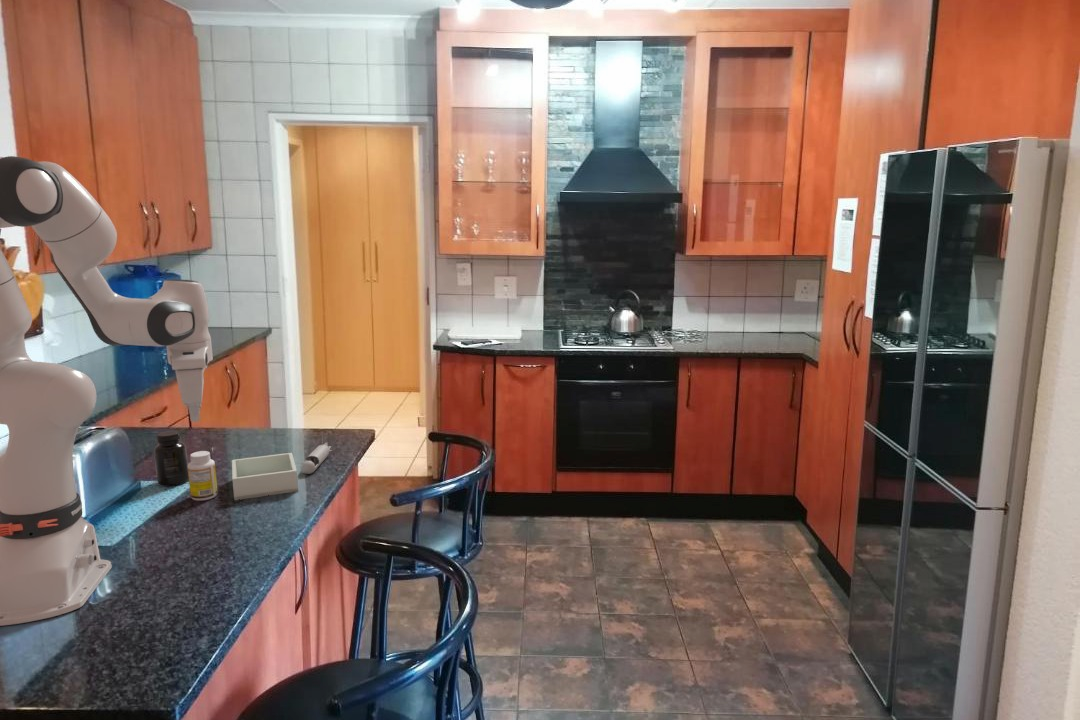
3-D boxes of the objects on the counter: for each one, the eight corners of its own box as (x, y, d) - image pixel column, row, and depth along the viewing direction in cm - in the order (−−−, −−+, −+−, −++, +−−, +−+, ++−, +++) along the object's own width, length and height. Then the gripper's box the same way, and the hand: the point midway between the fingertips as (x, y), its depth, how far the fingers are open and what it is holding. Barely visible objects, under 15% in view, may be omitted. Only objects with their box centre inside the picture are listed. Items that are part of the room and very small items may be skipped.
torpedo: (316, 476, 178) (314, 450, 177) (297, 476, 178) (295, 450, 177) (336, 452, 196) (335, 428, 195) (318, 452, 196) (317, 428, 195)
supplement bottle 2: (204, 490, 169) (199, 448, 167) (223, 494, 167) (219, 451, 165) (185, 499, 164) (180, 456, 162) (204, 503, 162) (200, 459, 160)
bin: (298, 491, 168) (296, 470, 167) (234, 500, 163) (232, 479, 162) (293, 472, 181) (292, 452, 180) (233, 479, 176) (231, 459, 175)
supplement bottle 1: (195, 477, 177) (190, 429, 175) (179, 487, 171) (173, 438, 168) (168, 476, 178) (163, 428, 176) (151, 486, 171) (145, 437, 169)
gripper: (176, 346, 167) (182, 405, 170) (170, 363, 148) (177, 429, 151) (206, 344, 169) (212, 402, 172) (204, 361, 151) (211, 425, 154)
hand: (196, 415), depth 161 cm, fingers open, 8 cm apart
